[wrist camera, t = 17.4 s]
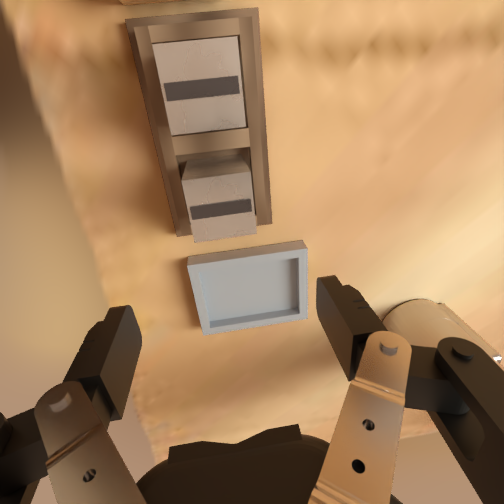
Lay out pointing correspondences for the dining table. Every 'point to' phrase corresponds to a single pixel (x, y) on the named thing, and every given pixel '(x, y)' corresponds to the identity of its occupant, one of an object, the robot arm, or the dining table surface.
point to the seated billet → (201, 84)
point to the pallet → (208, 142)
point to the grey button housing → (143, 1)
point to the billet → (219, 197)
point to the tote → (250, 286)
